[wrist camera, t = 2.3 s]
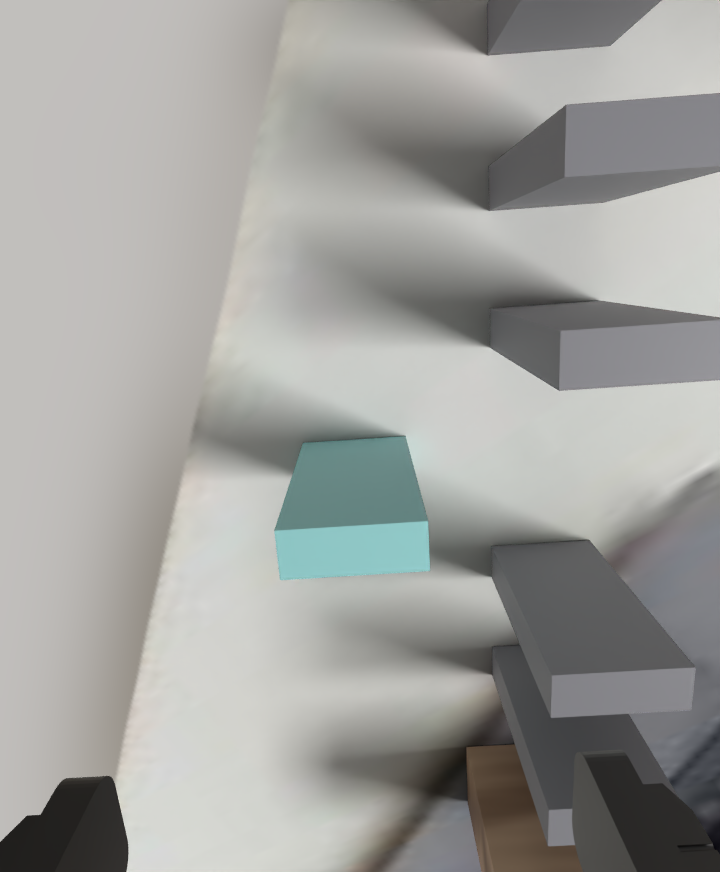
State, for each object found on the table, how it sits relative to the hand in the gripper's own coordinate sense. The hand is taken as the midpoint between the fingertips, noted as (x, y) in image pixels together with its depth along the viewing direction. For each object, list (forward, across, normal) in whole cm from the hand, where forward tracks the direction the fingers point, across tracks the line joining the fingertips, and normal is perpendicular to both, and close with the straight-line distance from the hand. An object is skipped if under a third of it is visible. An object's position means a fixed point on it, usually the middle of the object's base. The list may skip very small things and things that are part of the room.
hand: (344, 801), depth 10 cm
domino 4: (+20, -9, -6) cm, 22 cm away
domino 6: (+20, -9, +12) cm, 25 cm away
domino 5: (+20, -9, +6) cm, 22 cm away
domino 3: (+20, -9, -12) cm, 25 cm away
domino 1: (+20, 0, 0) cm, 20 cm away
